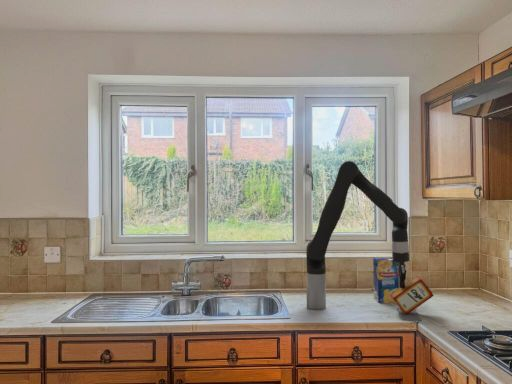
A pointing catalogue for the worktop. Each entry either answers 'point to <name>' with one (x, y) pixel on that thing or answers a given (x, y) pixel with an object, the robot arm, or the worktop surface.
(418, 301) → the baking soda box
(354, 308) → the worktop surface
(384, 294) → the blue cardboard box
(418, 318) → the mat
